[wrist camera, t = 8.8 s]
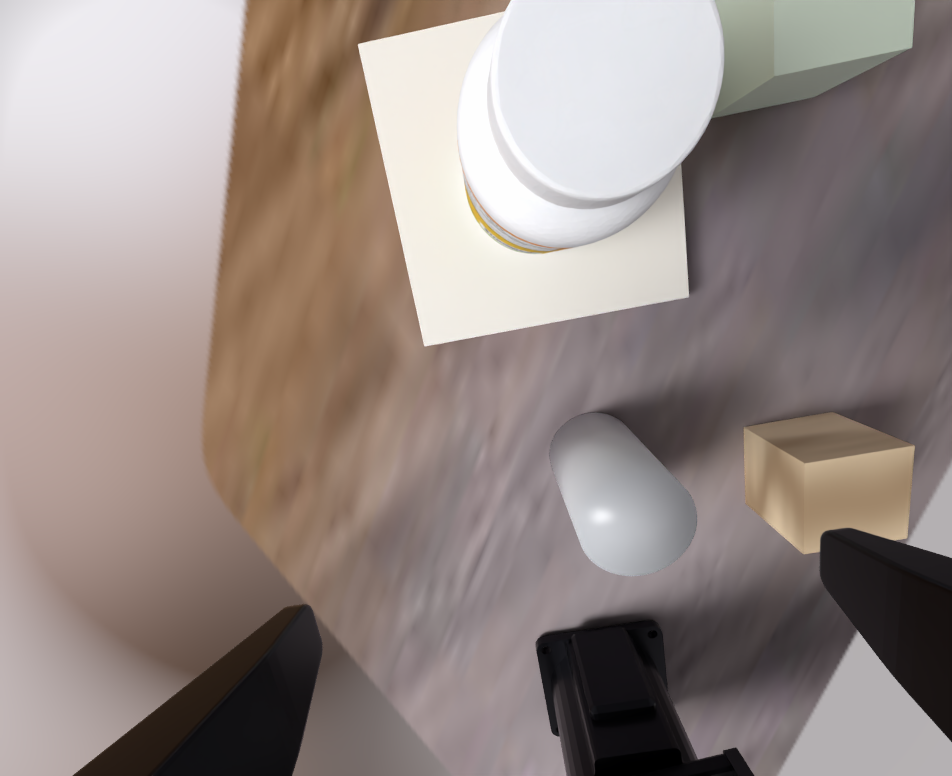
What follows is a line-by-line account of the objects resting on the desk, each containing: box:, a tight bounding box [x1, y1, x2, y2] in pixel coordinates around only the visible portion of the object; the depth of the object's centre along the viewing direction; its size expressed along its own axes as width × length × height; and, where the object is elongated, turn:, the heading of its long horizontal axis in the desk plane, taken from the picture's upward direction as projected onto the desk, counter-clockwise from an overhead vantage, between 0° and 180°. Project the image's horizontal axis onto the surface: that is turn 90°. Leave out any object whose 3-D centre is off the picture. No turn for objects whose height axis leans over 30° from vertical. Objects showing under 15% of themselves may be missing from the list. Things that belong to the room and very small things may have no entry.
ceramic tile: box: [358, 12, 689, 346], centre depth 17 cm, size 11×11×1 cm
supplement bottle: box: [457, 0, 724, 254], centre depth 12 cm, size 5×5×10 cm
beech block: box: [744, 412, 915, 554], centre depth 19 cm, size 4×4×4 cm
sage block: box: [711, 0, 915, 118], centre depth 15 cm, size 4×4×4 cm
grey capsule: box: [549, 413, 697, 576], centre depth 18 cm, size 4×4×6 cm
